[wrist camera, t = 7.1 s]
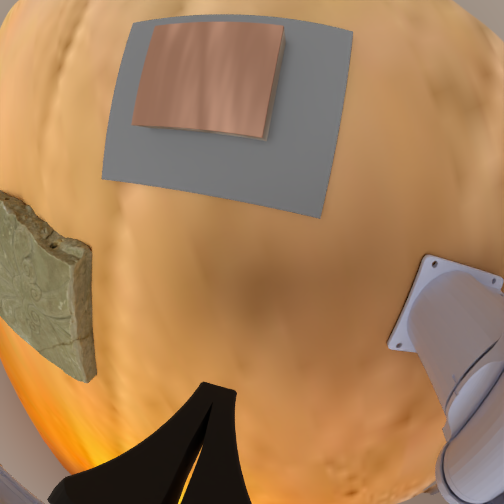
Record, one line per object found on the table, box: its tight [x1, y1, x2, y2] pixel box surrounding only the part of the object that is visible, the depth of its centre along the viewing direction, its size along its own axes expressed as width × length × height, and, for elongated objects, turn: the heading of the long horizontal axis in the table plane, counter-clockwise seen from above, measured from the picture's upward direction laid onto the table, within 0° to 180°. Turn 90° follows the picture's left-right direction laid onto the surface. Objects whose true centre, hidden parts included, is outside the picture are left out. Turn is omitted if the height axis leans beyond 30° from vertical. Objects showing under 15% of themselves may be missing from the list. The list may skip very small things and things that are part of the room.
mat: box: [102, 15, 353, 219], centre depth 15 cm, size 16×13×1 cm
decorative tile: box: [0, 190, 97, 383], centre depth 23 cm, size 19×20×4 cm
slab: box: [131, 22, 286, 141], centre depth 14 cm, size 2×7×8 cm
